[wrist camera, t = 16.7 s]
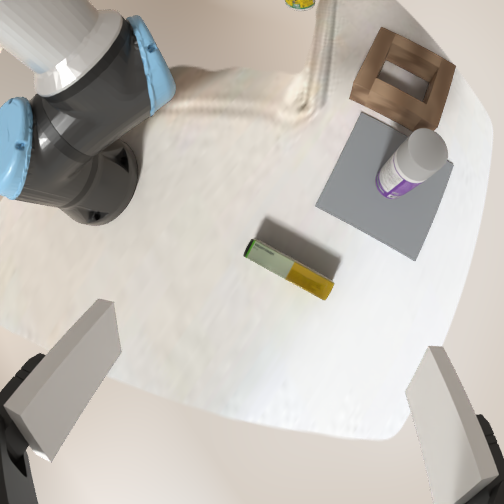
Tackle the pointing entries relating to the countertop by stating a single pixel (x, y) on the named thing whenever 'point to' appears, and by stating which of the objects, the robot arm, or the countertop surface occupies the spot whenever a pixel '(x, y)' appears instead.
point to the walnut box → (393, 99)
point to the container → (411, 164)
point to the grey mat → (368, 198)
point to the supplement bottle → (300, 4)
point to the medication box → (289, 268)
